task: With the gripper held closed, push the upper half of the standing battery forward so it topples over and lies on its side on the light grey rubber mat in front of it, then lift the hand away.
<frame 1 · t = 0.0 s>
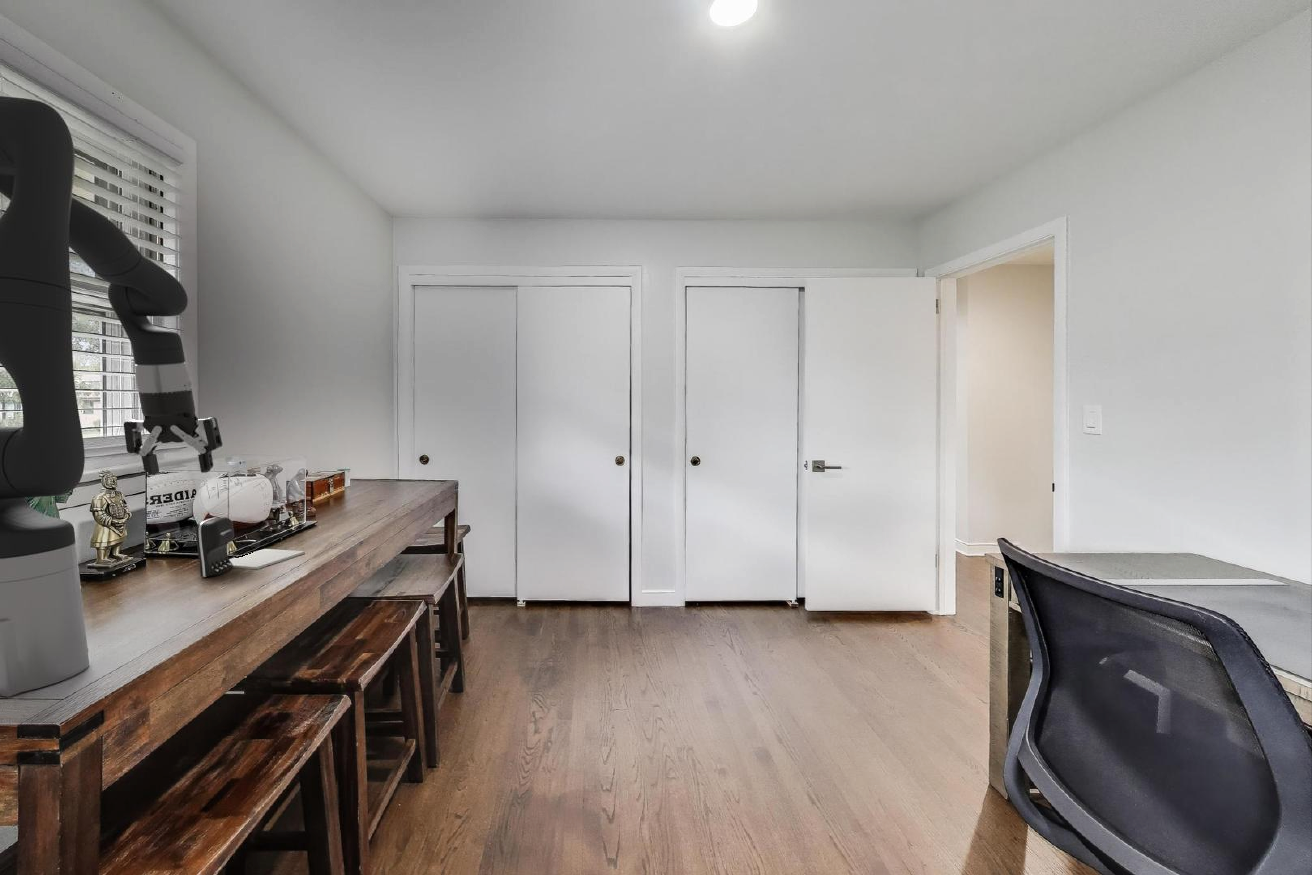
hand: (180, 472, 108), 22 cm above the table, tool pointing down, fingers open, 8 cm apart
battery: (220, 573, 119), on the table
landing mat: (260, 559, 128), on the table
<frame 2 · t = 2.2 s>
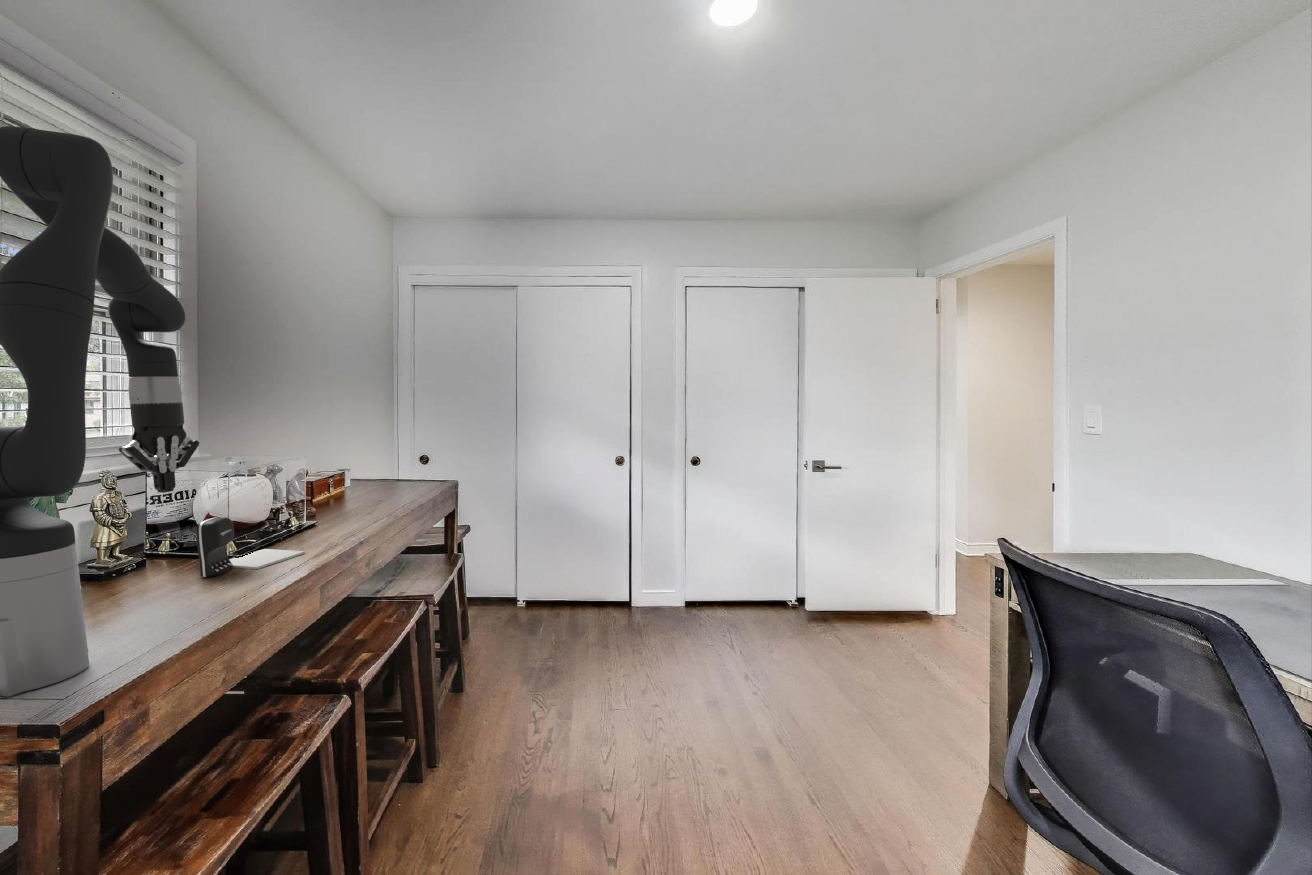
hand: (165, 491, 109), 19 cm above the table, tool pointing down, fingers closed
nothing on the table moved.
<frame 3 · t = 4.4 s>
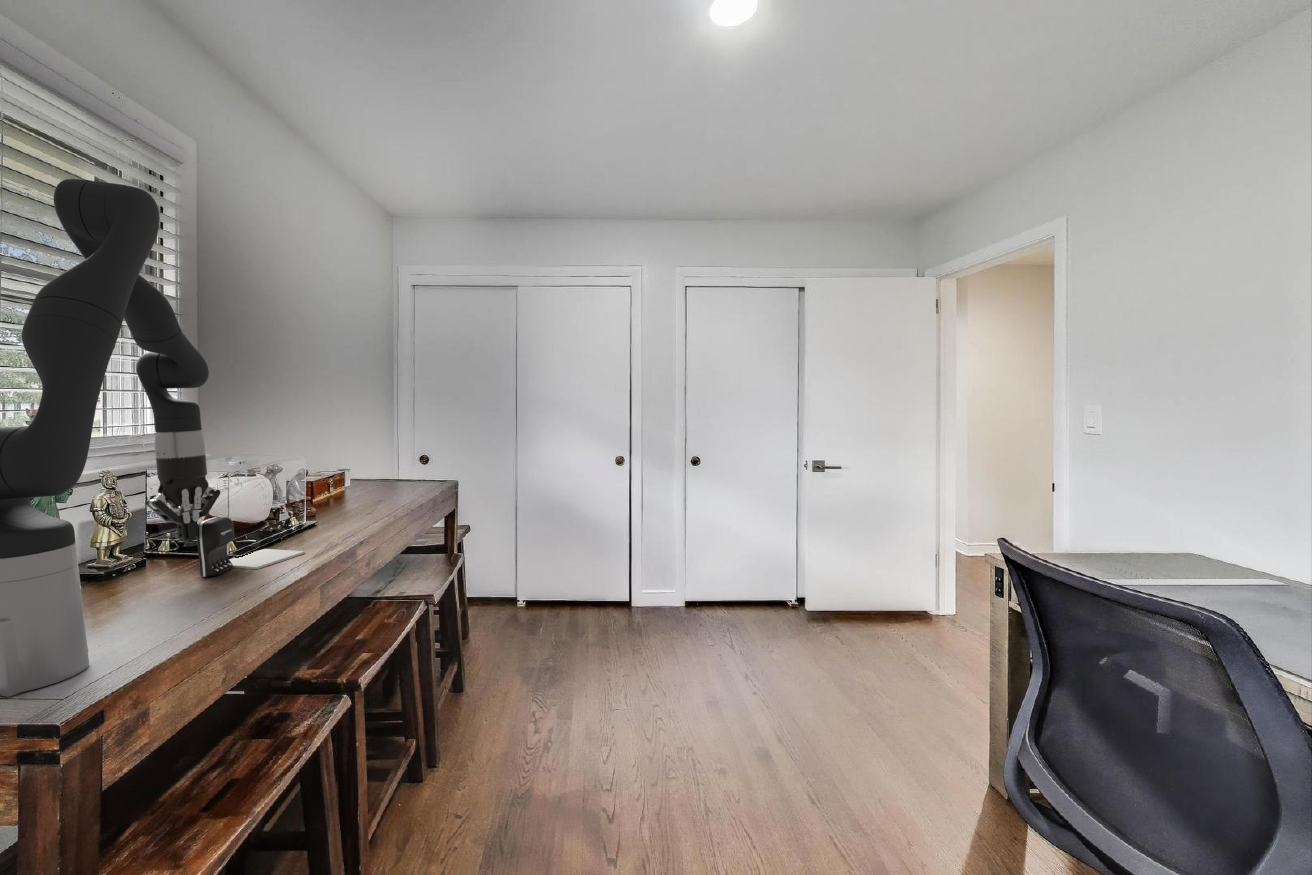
hand: (189, 540, 113), 8 cm above the table, tool pointing down, fingers closed
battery: (220, 573, 119), on the table, touching gripper
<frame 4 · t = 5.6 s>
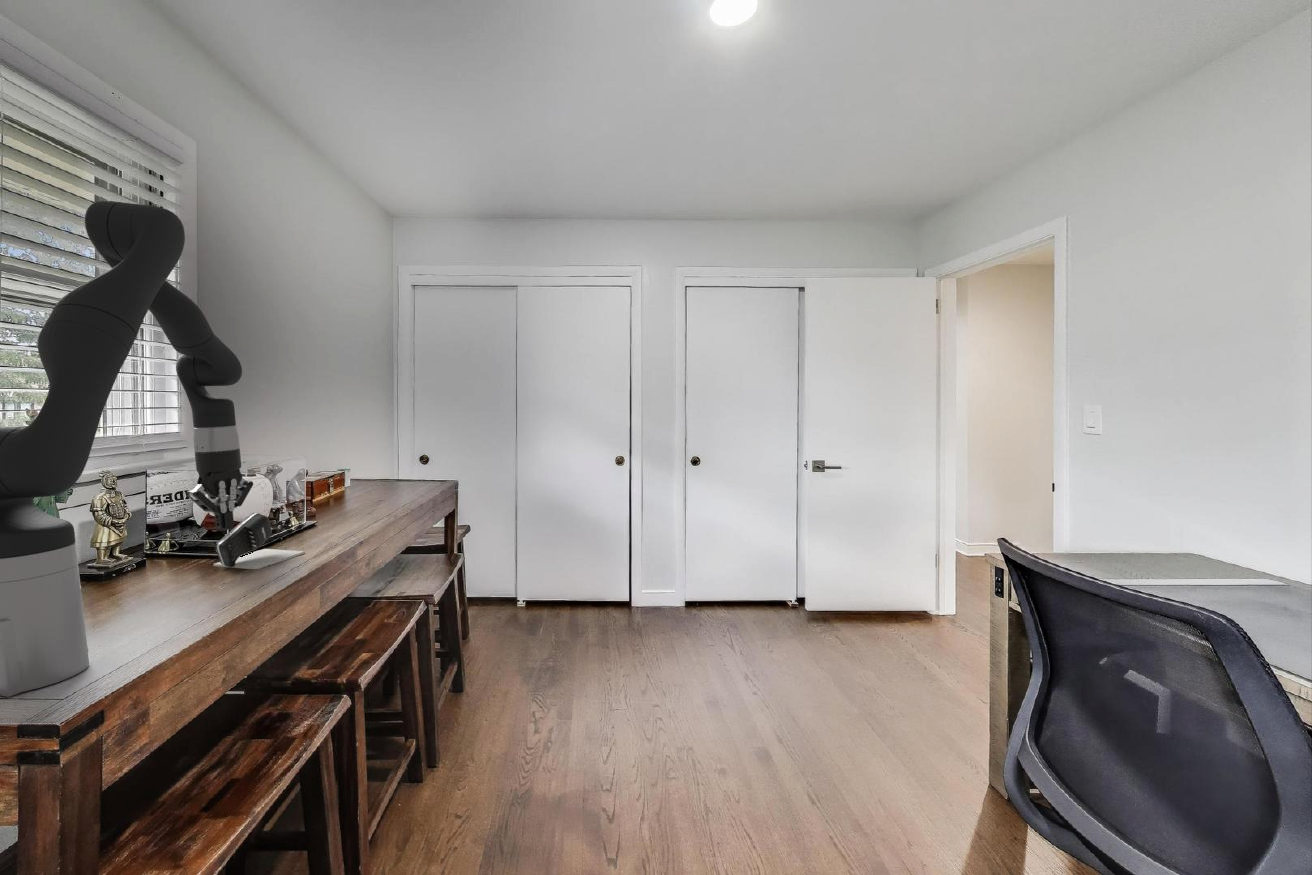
hand: (225, 529, 120), 9 cm above the table, tool pointing down, fingers closed
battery: (224, 558, 120), point 3 cm above the table
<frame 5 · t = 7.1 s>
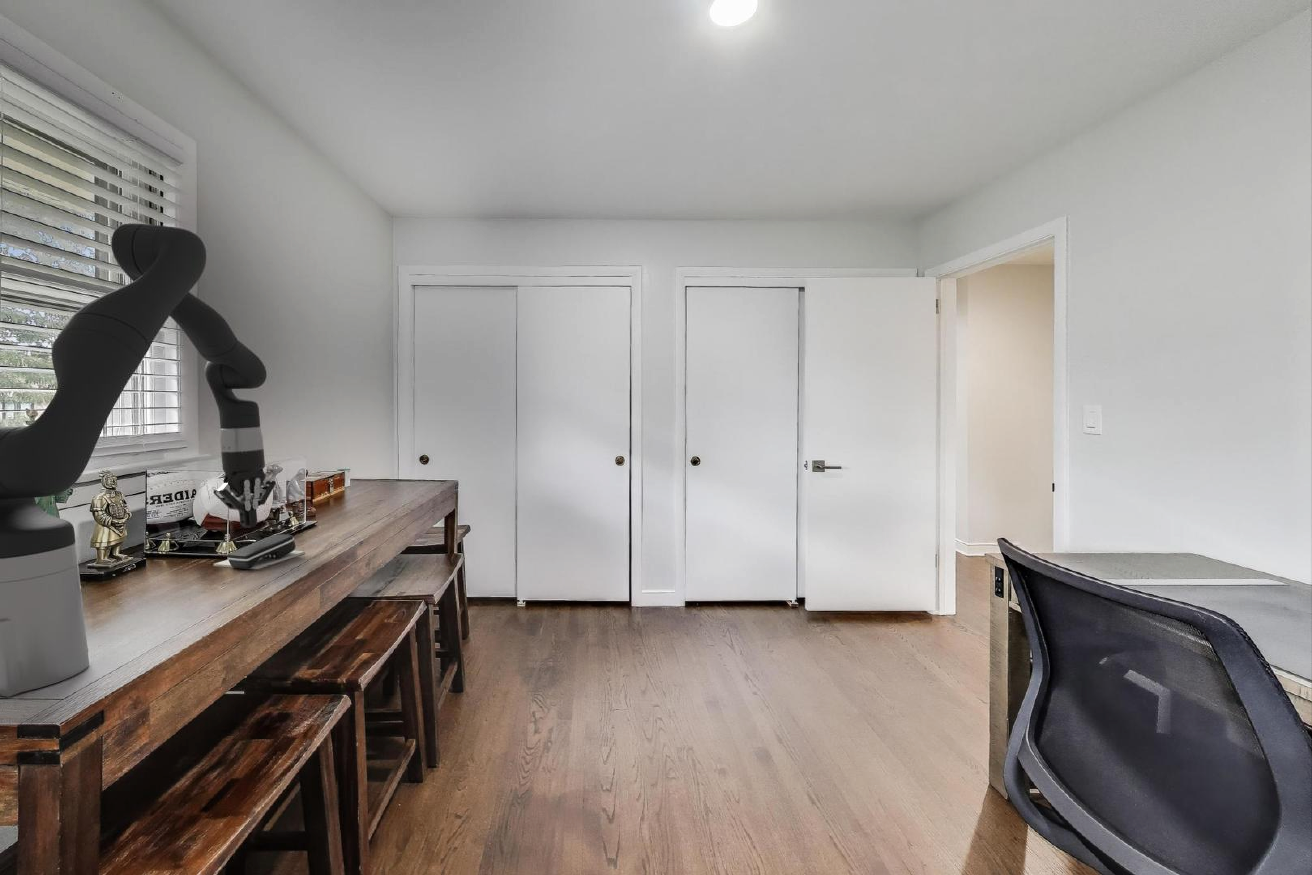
hand: (249, 526, 125), 8 cm above the table, tool pointing down, fingers closed
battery: (236, 564, 120), point 1 cm above the table, touching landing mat
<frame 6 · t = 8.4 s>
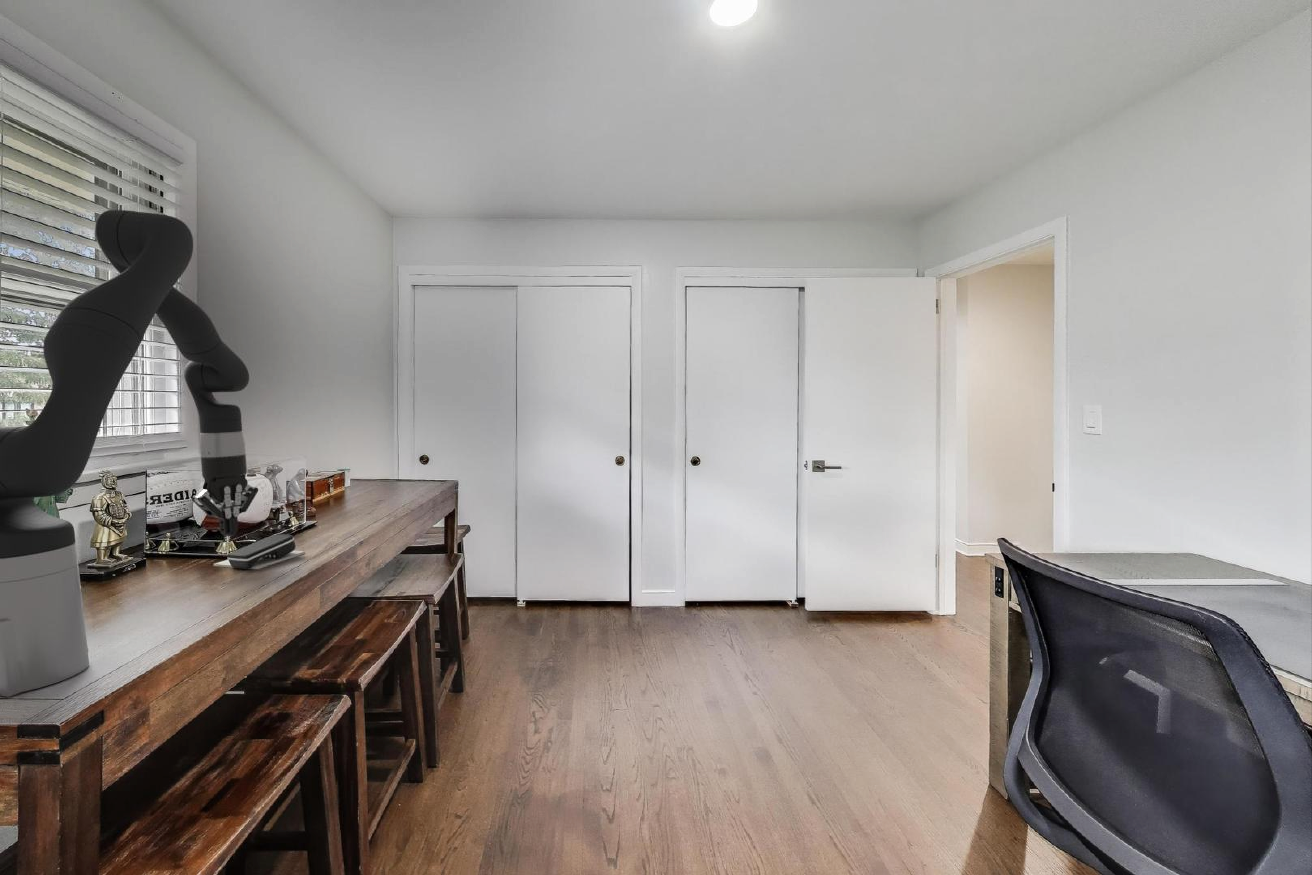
hand: (229, 535, 121), 7 cm above the table, tool pointing down, fingers closed
nothing on the table moved.
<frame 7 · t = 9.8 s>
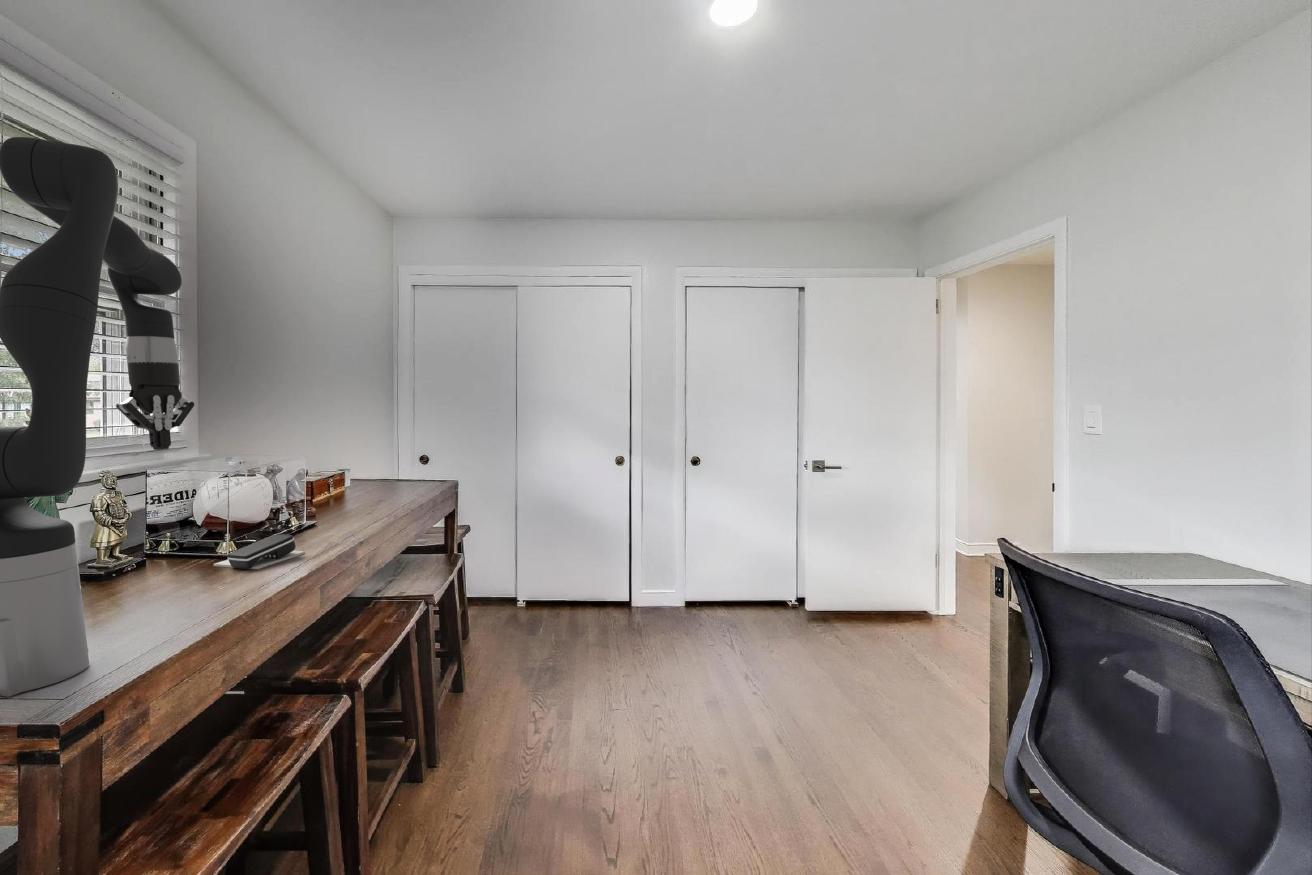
hand: (161, 449, 113), 27 cm above the table, tool pointing down, fingers closed
nothing on the table moved.
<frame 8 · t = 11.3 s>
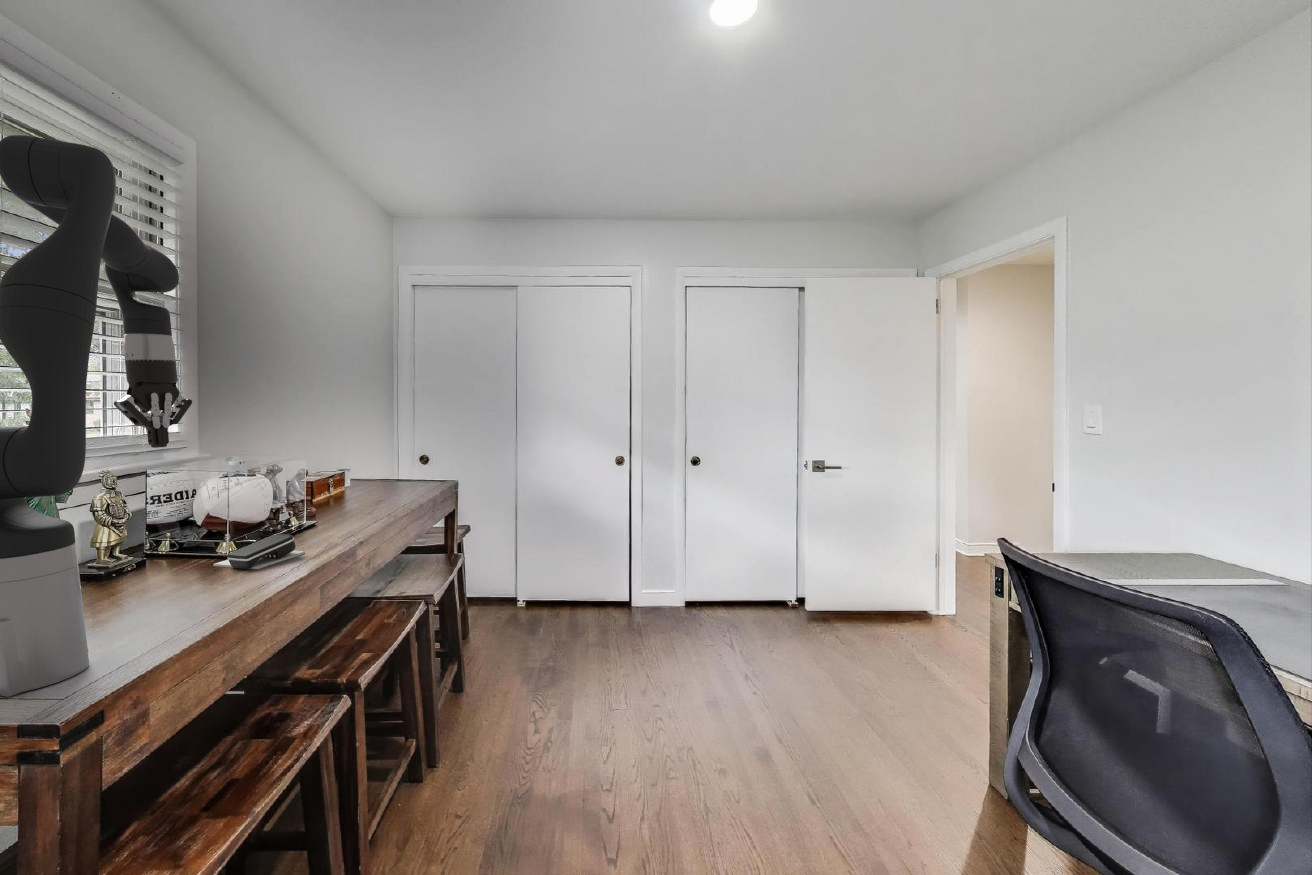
hand: (159, 447, 112), 27 cm above the table, tool pointing down, fingers closed
nothing on the table moved.
at the end: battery tilted 80°; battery inside the target area (3.9 cm from its centre), point 1.2 cm above the table; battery touching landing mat, table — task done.
